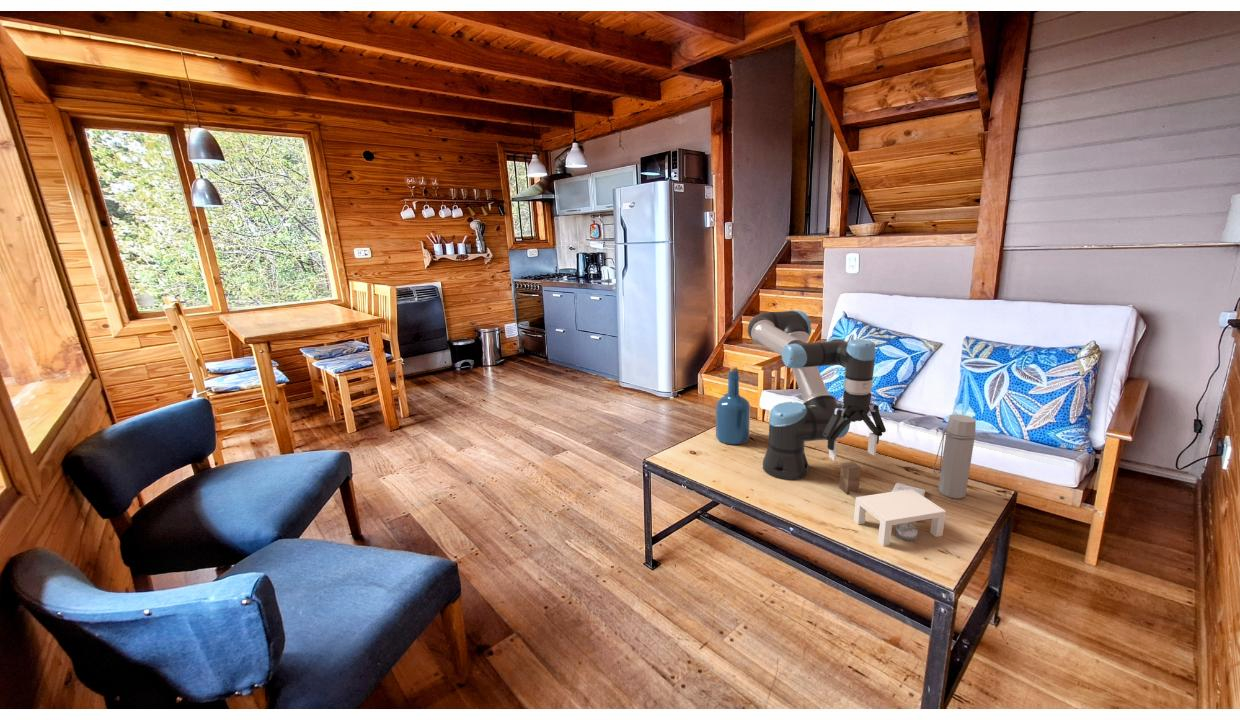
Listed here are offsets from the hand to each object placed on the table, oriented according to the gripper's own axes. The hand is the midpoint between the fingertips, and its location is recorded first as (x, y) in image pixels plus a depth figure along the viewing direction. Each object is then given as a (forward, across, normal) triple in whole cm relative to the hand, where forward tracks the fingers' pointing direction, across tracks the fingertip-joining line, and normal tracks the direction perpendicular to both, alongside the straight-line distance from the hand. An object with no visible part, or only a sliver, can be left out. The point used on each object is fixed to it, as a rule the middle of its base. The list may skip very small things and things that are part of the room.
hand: (852, 456), depth 152 cm
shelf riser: (+12, 0, -21) cm, 24 cm away
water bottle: (+12, +28, -9) cm, 32 cm away
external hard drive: (+13, +14, -8) cm, 21 cm away
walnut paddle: (+12, 0, -8) cm, 14 cm away
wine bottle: (+12, -19, +47) cm, 52 cm away
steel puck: (+12, 0, -24) cm, 27 cm away
